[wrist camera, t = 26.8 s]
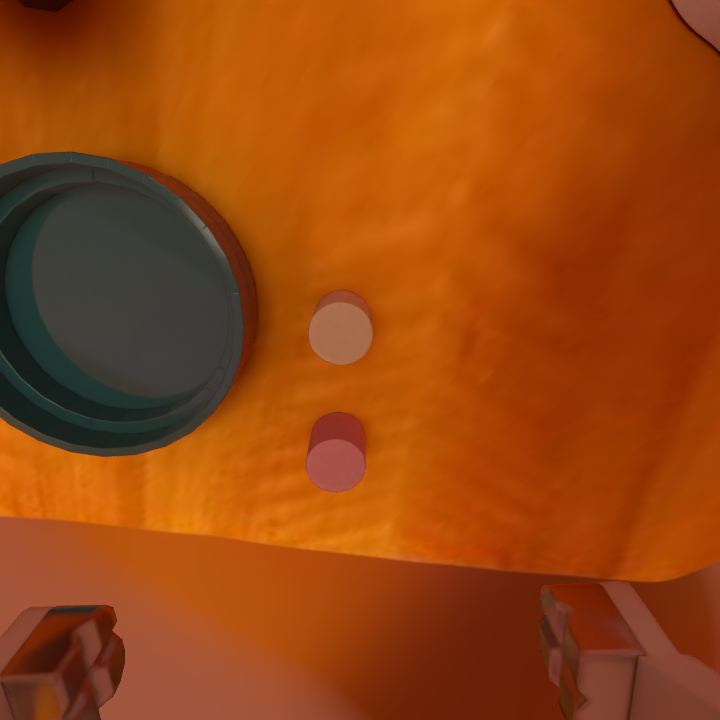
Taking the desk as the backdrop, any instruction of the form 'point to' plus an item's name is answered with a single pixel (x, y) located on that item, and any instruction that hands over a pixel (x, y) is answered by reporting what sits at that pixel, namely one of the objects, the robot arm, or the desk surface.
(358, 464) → the pink marshmallow
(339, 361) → the cream marshmallow
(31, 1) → the ice cream bowl
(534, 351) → the desk surface
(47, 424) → the bowl
